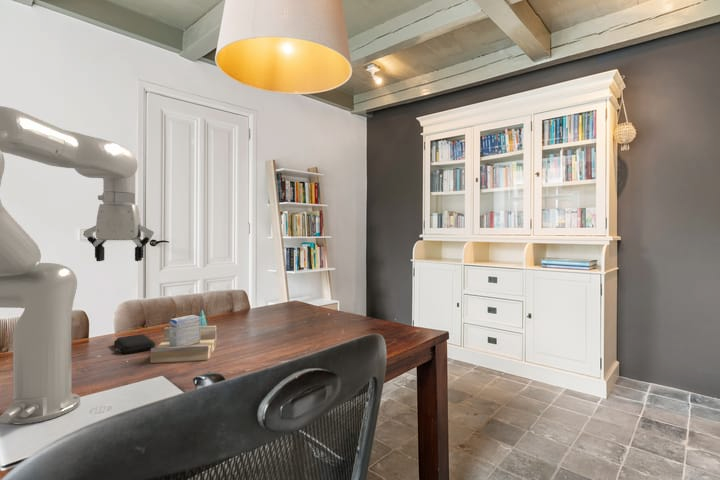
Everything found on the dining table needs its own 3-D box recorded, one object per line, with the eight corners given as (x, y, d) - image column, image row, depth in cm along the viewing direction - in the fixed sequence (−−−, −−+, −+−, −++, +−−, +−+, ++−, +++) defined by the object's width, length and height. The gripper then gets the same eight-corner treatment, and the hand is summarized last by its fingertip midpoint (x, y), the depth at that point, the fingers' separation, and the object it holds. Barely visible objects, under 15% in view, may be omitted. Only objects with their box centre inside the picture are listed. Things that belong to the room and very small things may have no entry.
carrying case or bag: (109, 346, 126) (119, 357, 116) (109, 337, 126) (119, 347, 116) (144, 340, 134) (157, 350, 123) (144, 332, 134) (157, 341, 123)
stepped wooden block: (207, 359, 113) (208, 336, 113) (150, 362, 110) (150, 339, 110) (216, 346, 127) (216, 325, 127) (165, 348, 124) (165, 327, 124)
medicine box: (192, 340, 123) (192, 314, 122) (200, 343, 120) (200, 316, 120) (169, 346, 116) (169, 318, 116) (176, 349, 114) (176, 320, 113)
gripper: (77, 197, 100) (77, 262, 100) (148, 199, 103) (148, 261, 103) (91, 200, 107) (91, 260, 107) (157, 201, 110) (157, 259, 111)
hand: (119, 260), depth 105 cm, fingers open, 9 cm apart
